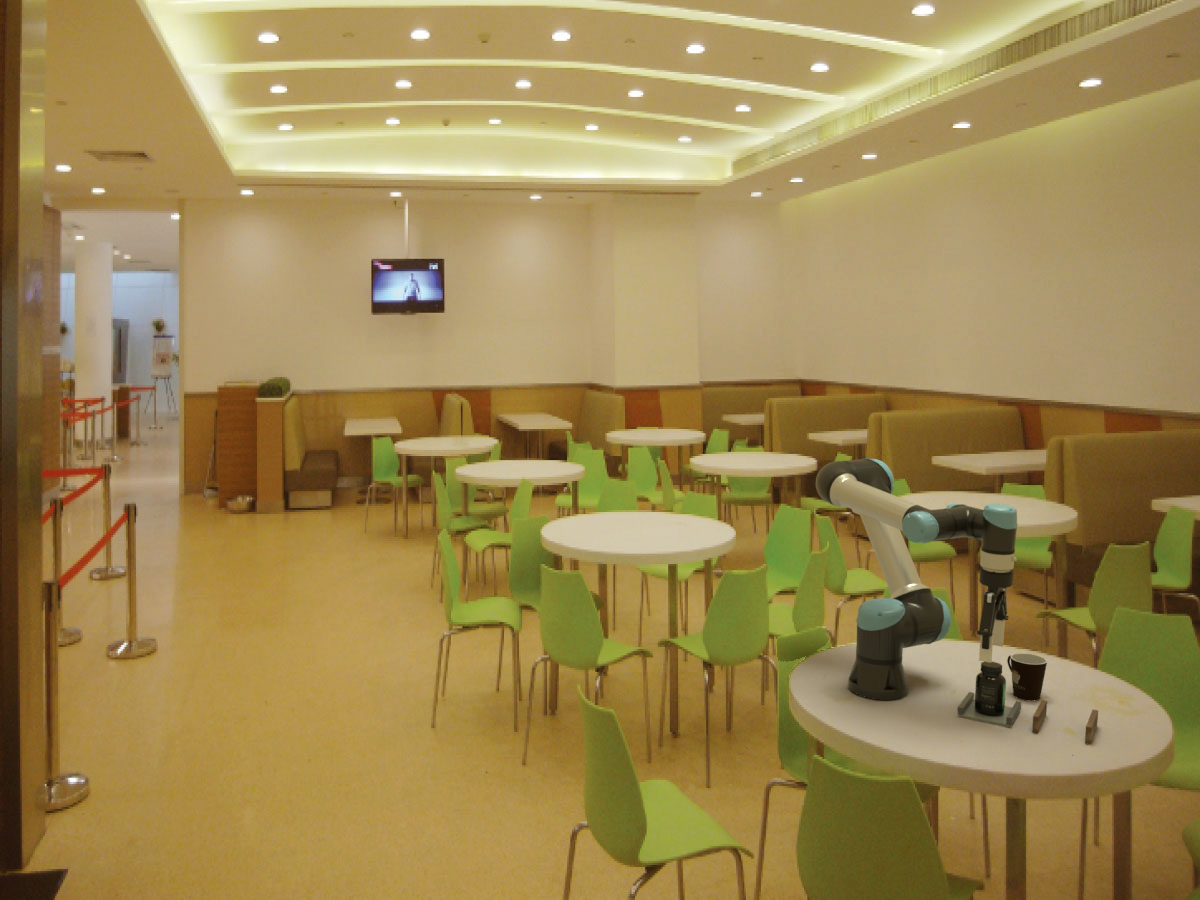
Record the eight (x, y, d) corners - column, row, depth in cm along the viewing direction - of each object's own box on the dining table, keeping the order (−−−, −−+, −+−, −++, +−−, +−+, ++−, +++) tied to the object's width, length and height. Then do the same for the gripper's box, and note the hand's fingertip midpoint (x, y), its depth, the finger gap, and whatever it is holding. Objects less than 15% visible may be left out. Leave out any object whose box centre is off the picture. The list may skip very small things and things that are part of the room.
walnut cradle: (1032, 732, 231) (1033, 715, 230) (1040, 715, 240) (1041, 699, 240) (1090, 744, 224) (1091, 727, 223) (1097, 726, 234) (1098, 710, 233)
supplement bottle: (1010, 714, 239) (1013, 667, 238) (987, 718, 237) (990, 670, 236) (990, 704, 246) (992, 658, 244) (968, 708, 243) (970, 661, 242)
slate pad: (957, 716, 240) (957, 707, 239) (968, 700, 250) (969, 691, 249) (1011, 727, 233) (1011, 718, 233) (1020, 711, 243) (1021, 702, 243)
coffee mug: (1048, 703, 248) (1050, 665, 247) (1012, 701, 250) (1014, 663, 248) (1037, 687, 259) (1039, 650, 258) (1003, 684, 261) (1005, 648, 260)
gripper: (1002, 582, 224) (996, 671, 227) (1023, 560, 245) (1017, 641, 248) (968, 577, 228) (963, 665, 231) (991, 555, 249) (986, 636, 252)
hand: (991, 653), depth 240 cm, fingers open, 13 cm apart
